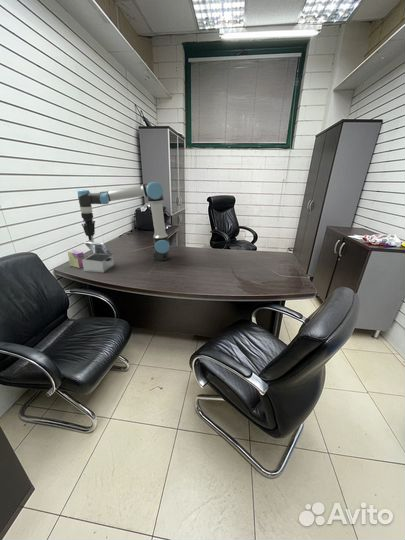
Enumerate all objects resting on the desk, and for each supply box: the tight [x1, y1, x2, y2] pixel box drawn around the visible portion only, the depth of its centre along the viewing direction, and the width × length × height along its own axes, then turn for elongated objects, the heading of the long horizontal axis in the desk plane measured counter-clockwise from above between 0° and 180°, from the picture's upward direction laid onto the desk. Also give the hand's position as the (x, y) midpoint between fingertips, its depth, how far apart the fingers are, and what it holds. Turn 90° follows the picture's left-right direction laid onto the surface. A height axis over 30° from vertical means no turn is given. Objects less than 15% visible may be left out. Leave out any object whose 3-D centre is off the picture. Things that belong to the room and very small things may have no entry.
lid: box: [83, 241, 114, 255], centre depth 170 cm, size 16×15×3 cm
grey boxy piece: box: [82, 253, 115, 274], centre depth 171 cm, size 20×15×9 cm
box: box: [67, 249, 85, 269], centre depth 173 cm, size 10×6×12 cm, turn 65°
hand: (91, 244), depth 167 cm, fingers closed
